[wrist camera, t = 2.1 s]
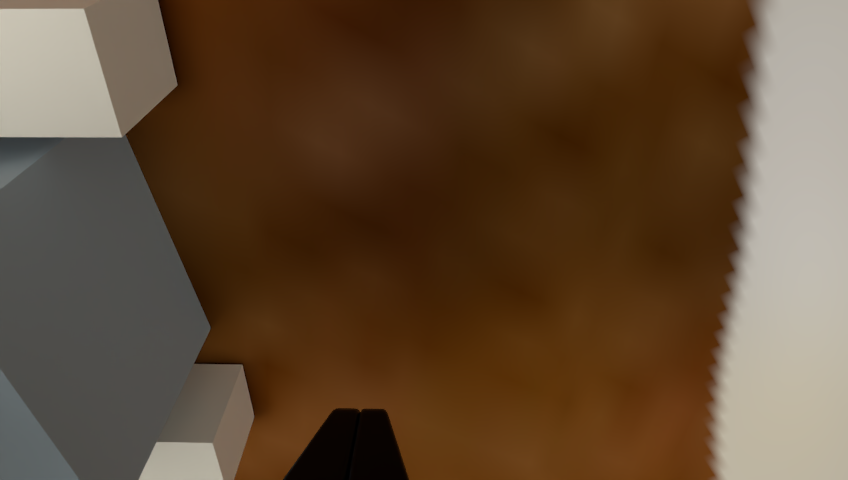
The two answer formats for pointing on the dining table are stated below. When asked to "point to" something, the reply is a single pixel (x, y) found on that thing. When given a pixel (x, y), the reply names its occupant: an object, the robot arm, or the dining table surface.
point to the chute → (113, 117)
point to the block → (87, 311)
